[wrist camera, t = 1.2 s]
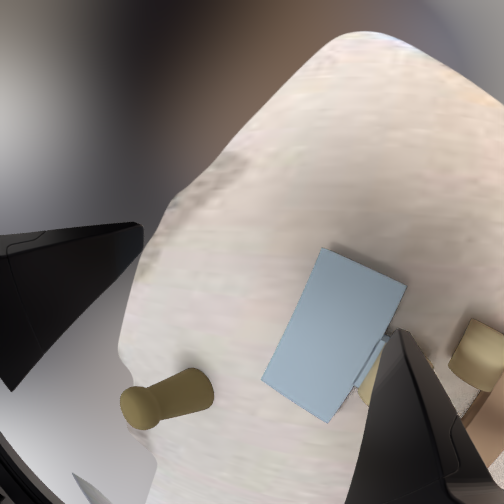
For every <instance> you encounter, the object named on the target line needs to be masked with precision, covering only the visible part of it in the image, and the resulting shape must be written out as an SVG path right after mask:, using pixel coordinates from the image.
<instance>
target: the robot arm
mask: <svg viewBox="0 0 504 504" xmlns="http://www.w3.org/2000/svg"><path fill="white" fill-rule="evenodd" d="M143 247H144V228H143V226H142V225H141V224H139V223H136V222H123V223H111V224H101V225H91V226H82V227H72V228H64V229H55V230H48V231H38V232H31V233H20V234H10V235H0V378H1V379H2V380H3V382H4V384H5V385H6V386H7V387H8V389H9V390H10V391H11V392H12V391H14V390H15V389H16V387H17V386H18V385H19V384H20V382H21V381H22V380H23V379H24V378H25V376H26V375H27V374H28V373H29V372H30V370H31V369H32V368H33V367H34V366H35V365H36V363H37V362H38V361H39V360H40V359H41V358H42V357H43V355H44V354H45V353H46V352H47V351H48V350H49V349H50V347H51V346H52V345H53V344H54V343H55V342H56V341H57V340H58V339H59V338H60V336H61V335H62V334H63V333H64V332H65V331H66V330H67V329H68V328H69V327H70V326H71V325H72V324H73V323H74V322H75V321H76V320H77V318H79V316H80V315H81V314H82V313H83V312H84V311H85V310H86V309H87V308H88V307H89V306H90V305H91V304H92V303H93V302H94V301H95V300H96V299H97V298H98V297H99V296H100V295H101V294H102V293H103V292H104V291H105V290H106V289H108V288H109V287H110V286H111V285H112V284H113V283H114V282H115V281H116V280H117V279H118V278H119V276H120V275H121V274H122V273H123V272H124V271H125V270H126V268H127V267H128V266H129V265H130V264H131V263H132V262H133V261H134V259H135V258H136V257H137V256H138V255H139V254H140V253H141V251H142V250H143ZM0 504H65V503H64V502H63V501H61V500H60V499H59V498H58V497H57V496H56V495H55V494H54V493H53V492H52V491H51V490H50V489H49V488H48V487H47V486H46V485H45V484H44V483H43V482H42V481H41V480H40V479H39V478H38V477H37V476H36V475H35V474H34V473H33V471H32V470H31V469H30V468H29V467H28V466H27V465H26V464H25V463H24V461H23V460H22V459H21V458H20V456H19V455H18V454H17V453H16V452H15V450H14V449H13V448H12V446H11V445H10V444H9V443H8V441H7V440H6V439H5V437H4V436H3V434H2V433H1V432H0ZM345 504H504V490H503V489H502V488H500V487H499V486H498V485H497V484H496V483H495V481H494V480H493V478H492V476H491V474H490V472H489V470H488V469H487V467H486V465H485V463H484V461H483V460H482V458H481V456H480V454H479V452H478V451H477V449H476V447H475V445H474V443H473V442H472V440H471V438H470V436H469V434H468V433H467V431H466V429H465V427H464V425H463V423H462V421H461V419H460V417H459V415H457V412H456V410H455V408H454V406H453V404H452V402H451V400H450V399H449V397H448V395H447V393H446V391H445V390H444V388H443V386H442V384H441V383H440V381H439V379H438V378H437V376H436V374H435V372H434V371H433V369H432V367H431V366H430V364H429V362H428V361H427V359H426V358H425V356H424V354H423V353H422V351H421V350H420V348H419V346H418V345H417V343H416V342H415V340H414V339H413V337H412V336H411V334H410V333H409V332H408V331H405V330H402V329H397V330H396V331H395V332H394V333H393V335H392V336H391V338H390V339H389V340H388V342H387V343H386V345H385V346H384V348H383V350H382V353H381V357H380V362H379V366H378V370H377V374H376V378H375V382H374V385H373V389H372V393H371V398H370V404H369V410H368V415H367V420H366V425H365V430H364V435H363V439H362V444H361V448H360V452H359V456H358V460H357V464H356V468H355V471H354V475H353V478H352V482H351V485H350V488H349V492H348V495H347V498H346V501H345Z"/></svg>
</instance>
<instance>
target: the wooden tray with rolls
mask: <svg viewBox="0 0 504 504" xmlns="http://www.w3.org/2000/svg"><path fill="white" fill-rule="evenodd" d="M448 367H449V368H450V370H451V371H452V372H453V373H454V374H455V375H457V376H458V377H459V378H460V379H462V380H463V381H465V382H466V383H468V384H469V385H471V386H473V387H475V388H477V389H479V390H481V391H480V393H479V394H478V396H477V398H476V399H475V401H474V402H473V403H472V405H471V406H470V408H469V409H468V411H467V412H466V413H465V415H464V416H463V418H462V419H461V421H462V423H463V425H464V427H465V429H466V431H467V433H468V434H469V436H470V438H471V440H472V442H473V443H474V445H475V447H476V449H477V451H478V452H479V454H480V456H481V458H482V460H483V461H484V463H485V465H486V467H487V468H488V467H489V466H490V465H491V464H492V463H493V462H494V461H495V459H496V458H497V457H498V456H499V455H500V454H501V452H502V451H503V450H504V335H503V334H502V333H500V332H498V331H496V330H494V329H493V328H491V327H489V326H487V325H485V324H483V323H481V322H479V321H477V320H475V319H471V321H470V323H469V325H468V327H467V329H466V332H465V334H464V336H463V338H462V340H461V341H460V343H459V345H458V347H457V349H456V351H455V353H454V355H453V356H452V358H451V360H450V362H449V363H448Z"/></svg>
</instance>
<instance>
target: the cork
mask: <svg viewBox="0 0 504 504" xmlns="http://www.w3.org/2000/svg"><path fill="white" fill-rule="evenodd" d="M213 400H214V391H213V388H212V385H211V383H210V381H209V379H208V378H207V377H206V375H205V374H204V373H202V372H201V371H200V370H198V369H195V368H188V369H186V370H184V371H182V372H180V373H178V374H176V375H174V376H171V377H169V378H167V379H165V380H163V381H161V382H159V383H156V384H154V385H152V386H150V387H147V388H144V387H137V386H134V387H130V388H128V389H126V390H125V391H124V392H123V393H122V394H121V397H120V406H121V410H122V413H123V415H124V417H125V419H126V420H127V422H128V423H129V424H130V425H131V426H132V427H134V428H136V429H140V430H148V429H151V428H153V427H155V426H156V425H157V424H158V423H159V421H160V420H164V419H169V418H173V417H177V416H182V415H186V414H190V413H194V412H198V411H202V410H205V409H207V408H209V407H210V406H211V405H212V403H213Z"/></svg>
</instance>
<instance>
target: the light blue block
mask: <svg viewBox="0 0 504 504" xmlns="http://www.w3.org/2000/svg"><path fill="white" fill-rule="evenodd" d="M406 288H407V285H405V284H403V283H401V282H398V281H396V280H394V279H392V278H390V277H388V276H386V275H383V274H381V273H379V272H377V271H375V270H373V269H370V268H368V267H366V266H364V265H362V264H360V263H357V262H355V261H353V260H351V259H348V258H346V257H344V256H342V255H340V254H337V253H335V252H333V251H331V250H328V249H325V248H322V249H321V251H320V253H319V256H318V258H317V260H316V263H315V265H314V268H313V270H312V272H311V275H310V277H309V279H308V281H307V284H306V286H305V288H304V290H303V293H302V295H301V297H300V299H299V302H298V304H297V306H296V308H295V310H294V313H293V315H292V317H291V319H290V321H289V323H288V325H287V328H286V330H285V332H284V334H283V336H282V338H281V340H280V342H279V344H278V346H277V348H276V350H275V352H274V354H273V356H272V358H271V360H270V362H269V364H268V366H267V368H266V370H265V372H264V374H263V376H262V378H261V380H262V381H263V382H265V383H266V384H267V385H269V386H270V387H272V388H273V389H275V390H276V391H278V392H279V393H280V394H282V395H283V396H285V397H286V398H288V399H289V400H291V401H292V402H294V403H295V404H297V405H298V406H300V407H302V408H303V409H305V410H306V411H308V412H309V413H311V414H313V415H314V416H316V417H317V418H319V419H321V420H322V421H324V422H326V423H327V424H328V422H329V421H330V420H331V419H332V417H333V416H334V415H335V413H336V412H337V411H338V409H339V408H340V406H341V405H342V403H343V402H344V400H345V399H346V397H347V396H348V394H349V393H350V391H351V390H352V388H353V387H354V386H356V387H357V388H358V394H359V396H360V398H361V399H362V400H363V402H364V403H365V404H366V405H368V406H369V404H370V398H371V393H372V389H373V385H374V382H375V378H376V374H377V370H378V366H379V362H380V357H381V353H382V350H383V348H384V346H385V345H386V343H387V342H388V340H389V339H390V338H391V337H389V336H387V335H385V334H384V333H385V331H386V330H387V328H388V326H389V324H390V322H391V320H392V318H393V316H394V314H395V312H396V309H397V307H398V305H399V303H400V301H401V299H402V297H403V294H404V292H405V290H406ZM425 358H426V357H425ZM426 359H427V358H426ZM427 361H428V362H429V364H430V366H431V367H432V369H433V368H434V366H433V364H432V363H431V362H430V361H429V360H428V359H427Z"/></svg>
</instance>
